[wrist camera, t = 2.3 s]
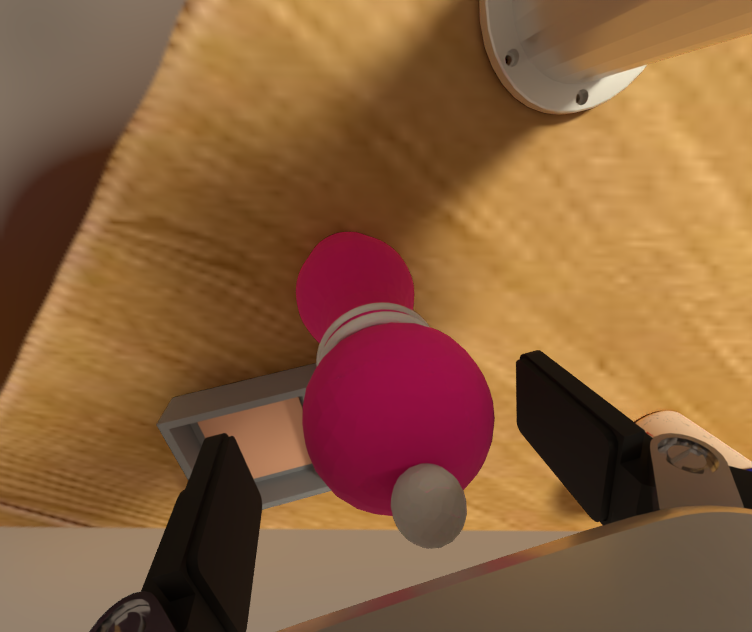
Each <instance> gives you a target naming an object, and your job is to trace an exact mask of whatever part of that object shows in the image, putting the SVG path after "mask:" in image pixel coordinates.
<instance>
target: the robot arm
mask: <svg viewBox="0 0 752 632" xmlns="http://www.w3.org/2000/svg"><path fill="white" fill-rule="evenodd" d="M479 7H480V25H481V30H482V35H483V41H484V46H485V49H486V52H487V54H488V57H489V60H490V63H491V65H492V68H493V69H494V71H495V73H496V74H497V76H498V78H499V80H500V81H501V83H502V84H503V86H504V87H505V88H506V89H507V90H508V91H509V92H510V93H511V94H512V95H513V97H514V98H516V99H517V100H519V101H520V102H522V103H523V104H524V105H526V106H527V107H529V108H532V109H534V110H537V111H540V112H542V113H549V114H558V115H561V114H568V113H575V112H580V111H584V110H588V109H592V108H594V107H596V106H598V105H600V104H603V103H605V102H607V101H609V100H610V99H612V98H613V97H615V96H616V95H617V94H619V93H620V92H621V91H623V90H624V89H626V88H627V87H628V86H629V85H630V84H631V83H632V82H633V81H634V80H635V79H636V78H637V77H638V76H639V75H640V74H641V72H642V71H643V70H644V68H645V67H646V66H647V64H651V63H654V62H657V61H661V60H664V59H668V58H671V57H674V56H678V55H681V54H684V53H688V52H691V51H695V50H698V49H701V48H705V47H708V46H711V45H715V44H718V43H721V42H725V41H728V40H732V39H735V38H738V37H742V36H745V35H748V34H752V0H479ZM505 58H507V59H508V64H506V60H505ZM516 402H517V426H518V428H519V430H520V432H521V434H522V435H523V436H524V437H525V438H526V440H527V441H528V442H529V443H530V444H531V446H532V447H533V448H534V449H535V451H536V452H537V453H538V454H539V455H540V457H541V458H542V459H543V460H544V461H545V463H546V464H547V465H548V466H549V468H550V469H551V470H552V471H553V472H554V474H555V475H556V476H557V477H558V478H559V480H560V481H561V482H562V483H563V485H564V486H565V487H566V488H567V489H568V491H569V492H570V493H571V494H572V495H573V497H574V498H575V499H576V500H577V502H578V503H579V504H580V505H581V506H582V508H583V509H584V510H585V511H586V512H587V514H588V515H589V516H590V517H591V518H592V519H593V520H594V521H596V522H599V521H600V522H601V524H602V525H603V526H600V527H596V528H593V529H590V530H586V531H583V532H580V533H577V534H573V535H571V536H567V537H564V538H561V539H558V540H554V541H551V542H549V543H545V544H542V545H539V546H536V547H532V548H529V549H526V550H523V551H520V552H517V553H514V554H511V555H507V556H504V557H501V558H498V559H495V560H492V561H489V562H486V563H483V564H479V565H476V566H473V567H470V568H467V569H464V570H461V571H458V572H455V573H451V574H449V575H445V576H442V577H439V578H436V579H433V580H430V581H427V582H424V583H421V584H418V585H415V586H411V587H409V588H405V589H402V590H399V591H396V592H393V593H390V594H387V595H384V596H381V597H378V598H375V599H372V600H369V601H366V602H363V603H360V604H357V605H354V606H351V607H348V608H345V609H342V610H339V611H336V612H333V613H330V614H327V615H324V616H320V617H318V618H315V619H311V620H308V621H306V622H302V623H299V624H297V625H294V626H291V627H288V628H285V629H282V630H279V631H277V632H752V471H748V470H744V469H740V468H736V467H732V466H728V463H727V461H726V460H725V458H724V456H723V455H722V454H721V453H720V452H719V451H717V450H716V449H715V448H714V447H712V446H710V445H709V444H707V443H706V442H704V441H701V440H699V439H696V438H694V437H691V436H687V435H683V434H675V433H666V434H660V435H658V436H655V437H654V438H652V437H651V436H650V435H648V434H647V433H646V432H645V430H644V429H642V428H641V427H640V426H638V425H637V424H636V423H635V422H633V421H632V420H631V419H629V418H628V417H627V416H625V415H624V414H623V413H621V412H620V411H619V410H617V409H616V408H615V407H614V406H612V405H611V404H610V403H608V402H607V401H606V400H604V399H603V398H602V397H600V396H599V395H598V394H597V393H595V392H594V391H593V390H591V389H590V388H589V387H587V386H586V385H585V384H583V383H582V382H581V381H580V380H578V379H577V378H576V377H574V376H573V375H572V374H570V373H569V372H568V371H566V370H565V369H564V368H562V367H561V366H560V365H559V364H557V363H556V362H555V361H553V360H552V359H551V358H549V357H548V356H547V355H545V354H544V353H543V352H541V351H540V350H536V351H533V352H529V353H525V354H522V355H521V356H520V360H517V362H516ZM261 513H262V498H261V495H260V492H259V490H258V488H257V486H256V483H255V481H254V479H253V477H252V475H251V472H250V470H249V468H248V466H247V463H246V461H245V459H244V457H243V455H242V452H241V450H240V448H239V446H238V444H237V441H236V439H235V437H234V436H228V435H227V434H226V433H222V434H218V435H214V436H210V437H207V438H205V439H204V441H203V444H202V446H201V449H200V451H199V454H198V457H197V459H196V462H195V465H194V467H193V470H192V473H191V475H190V478H189V481H188V483H187V486H186V488H185V490H183V491H182V492H181V493H180V495H179V496H178V498H177V501H176V503H175V506H174V508H173V511H172V514H171V516H170V519H169V521H168V524H167V526H166V529H165V531H164V534H163V537H162V539H161V542H160V544H159V547H158V549H157V552H156V554H155V557H154V560H153V562H152V565H151V568H150V570H149V573H148V575H147V578H146V580H145V583H144V585H143V588H142V590H141V592H136V593H133V594H131V595H128V596H127V597H124V598H122V599H121V600H120V601H118V602H117V603H115V604H114V605H113V606H112V607H110V608H109V609H108V610H107V611H106V612H105V613H104V614H103V615H102V616H101V617H100V618H99V619H98V621H97V622H96V623H95V625H94V626H93V627H92V629H91V630H90V631H89V632H246V629H247V622H248V614H249V607H250V599H251V590H252V583H253V576H254V568H255V559H256V552H257V544H258V537H259V529H260V521H261Z"/></svg>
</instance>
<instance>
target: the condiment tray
mask: <svg viewBox="0 0 752 632" xmlns="http://www.w3.org/2000/svg"><path fill="white" fill-rule="evenodd" d="M316 367H317V364H316V363H314V364H310V365H306V366H302V367H298V368H294V369H289V370H285V371H281V372H277V373H273V374H269V375H265V376H260V377H256V378H252V379H248V380H244V381H240V382H236V383H232V384H227V385H223V386H219V387H215V388H211V389H207V390H203V391H198V392H194V393H190V394H186V395H182V396H178V397H174V398H172V399H171V401H170V403H169V404H168V406H167V408H166V409H165V411H164V413H163V415H162V416H161V418H160V420H159V421H158V423H157V427H158V428H159V430H160V432H161V434H162V435H163V437H164V439H165V441H166V442H167V444H168V446H169V448H170V449H171V451H172V453H173V454H174V456H175V458H176V460H177V461H178V463H179V465H180V467H181V468H182V470H183V472H184V474H185V475H186V477H187V479H188V480H189V478H190V475H191V473H192V470H193V467H194V465H195V462H196V459H197V457H198V454H199V451H200V449H201V446H202V444H203V441H204V439H205V438H207V437H210V436H214V435H218V434H222V433H226V434H227V435H228V436H234V437H235V439H236V441H237V444H238V446H239V448H240V450H241V452H242V455H243V457H244V459H245V461H246V463H247V466H248V468H249V470H250V472H251V475H252V477H253V479H254V481H255V483H256V486H257V488H258V490H259V492H260V495H261V498H262V510H263V509H267V508H270V507H274V506H277V505H281V504H285V503H288V502H292V501H296V500H299V499H303V498H307V497H310V496H314V495H317V494H321V493H325V492H328V491H332V490H331V489H330V488H329V487H328V486H327V485H326V484H325V482H324V481H323V480H322V479H321V477H320V476H319V475H318V473H317V472H316V471H315V468H314V466H313V464H312V462H311V459H310V457H309V455H308V452H307V448H306V445H305V439H304V433H303V426H302V413H303V402H304V397H305V392H306V387H307V385H308V383H309V381H310V379H311V377H312V375H313V373H314V370H315V369H316Z"/></svg>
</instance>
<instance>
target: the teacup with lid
mask: <svg viewBox="0 0 752 632" xmlns="http://www.w3.org/2000/svg"><path fill="white" fill-rule="evenodd" d="M636 424H637V425H638V426H640V427H641V428H642V429H644V430H645V432H646V433H647V434H648V435H650V436H651V437H652V438H654V437H655V436H658V435H660V434H666V433H675V434H683V435H687V436H691V437H694V438H696V439H699V440H701V441H704V442H706V443H707V444H709V445H710V446H712V447H714V448H715V449H716V450H717V451H719V452H720V453H721V454H722V455H723V456H724V458H725V460H726V461H727V463H728V466H732V467H736V468H740V469H744V470H748V471H752V462H751V461H750V460H748V459H747V458H746V457H744V456H743V455H741V454H740V453H738V452H737V451H735V450H734V449H732V448H731V447H729V446H728V445H726V444H725V443H723V442H722V441H720V440H719V439H717V438H716V437H714V436H713V435H711V434H710V433H708V432H707V431H705V430H704V429H702V428H701V427H699V426H698V425H696V424H695V423H693V422H692V421H691V420H689V419H688V418H686V417H685V416H683V415H682V414H680V413H677V412H674V411H660V412H656V413H653V414H650V415H648V416H646V417H644V418H642V419H640V420H639V421H637V422H636Z"/></svg>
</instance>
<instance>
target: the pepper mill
mask: <svg viewBox="0 0 752 632" xmlns="http://www.w3.org/2000/svg"><path fill="white" fill-rule="evenodd" d="M296 300H297V306H298V310H299V314H300V317H301V319H302V321H303V323H304V325H305V326H306V328H307V330H308V331H309V332H310V334H311V335H312V336H313V337H314V338H315V339H316V341H318V342H319V343H320V344H319V348H318V352H317V359H316V364H317V367H316V369H315V370H314V373H313V375H312V377H311V379H310V381H309V383H308V385H307V387H306V392H305V397H304V402H303V413H302V426H303V433H304V439H305V445H306V448H307V452H308V455H309V457H310V459H311V462H312V464H313V466H314V468H315V471H316V472H317V473H318V475H319V476H320V477H321V479H322V480H323V481H324V482H325V484H326V485H327V486H328V487H329V488H330V489H331V490H332V492H333V493H334V494H335V495H336V496H337V497H339V498H340V499H342V500H344V501H345V502H347V503H349V504H350V505H352V506H354V507H355V508H357V509H360V510H363V511H366V512H370V513H373V514H379V515H388V516H393V519H394V521H395V523H396V526H397V527H398V529H399V531H400V532H401V533H402V534H403V535H404V536H405V538H406V539H408V540H409V541H410V542H412V543H414V544H416V545H418V546H421V547H423V548H441V547H443V546H445V545H447V544H449V543H450V542H452V541H453V540H454V539H455V538H456V537H457V536H458V535H459V533H460V532H461V530H462V528H463V526H464V523H465V519H466V515H467V509H466V498H465V495H464V491H463V490H464V489H465V488H466V487H467V486H468V484H469V483H470V482H471V481H472V480H473V479H474V477H475V476H476V475H477V474H478V472H479V471H480V469H481V467H482V465H483V464H484V462H485V459H486V457H487V454H488V452H489V449H490V446H491V442H492V437H493V428H494V419H495V417H494V408H493V400H492V397H491V393H490V390H489V387H488V385H487V382H486V380H485V378H484V375H483V374H482V372H481V371H480V369H479V367H478V366H477V364H476V363H475V362H474V360H473V359H472V358H471V357H470V355H469V354H468V353H467V352H466V350H465V349H463V348H462V347H461V346H460V345H459V344H458V343H457V342H455V341H454V340H453V339H452V338H451V337H450V336H448V335H446V334H444V333H442V332H440V331H439V330H436V329H433V328H430V327H429V325H428V324H427V322H426V321H425V320H424V319H423V318H422V317H421V316H420V315H419V314H417V313H416V312H414V311H413V305H414V285H413V280H412V277H411V274H410V272H409V270H408V267H407V266H406V264H405V262H404V261H403V259H402V258H401V257H400V255H399V254H398V253H397V252H396V251H395V250H394V249H393V248H392V247H390V246H389V245H387V244H386V243H385V242H383V241H381V240H378V239H376V238H373V237H369V236H367V235H364V234H361V233H358V232H340V233H336V234H333V235H330V236H328V237H327V238H325V239H324V240H322V241H321V242H320V243H318V244H317V245H316V247H315V248H314V249H313V251H312V252H311V254H310V255H309V257H308V258H307V260H306V261H305V263H304V264H303V266H302V268H301V270H300V272H299V275H298V279H297V284H296Z"/></svg>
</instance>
